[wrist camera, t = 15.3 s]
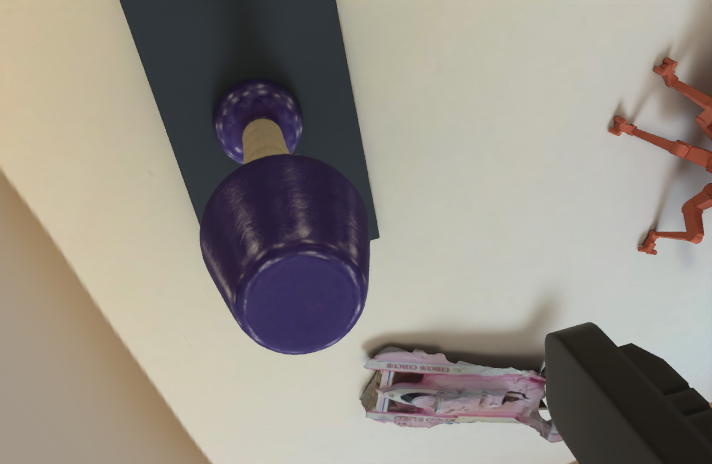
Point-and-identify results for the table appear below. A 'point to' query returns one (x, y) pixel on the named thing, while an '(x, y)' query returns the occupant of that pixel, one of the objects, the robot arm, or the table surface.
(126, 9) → the mat
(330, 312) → the toy lamp
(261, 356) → the table surface
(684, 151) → the beetle
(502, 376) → the boxed toy car
